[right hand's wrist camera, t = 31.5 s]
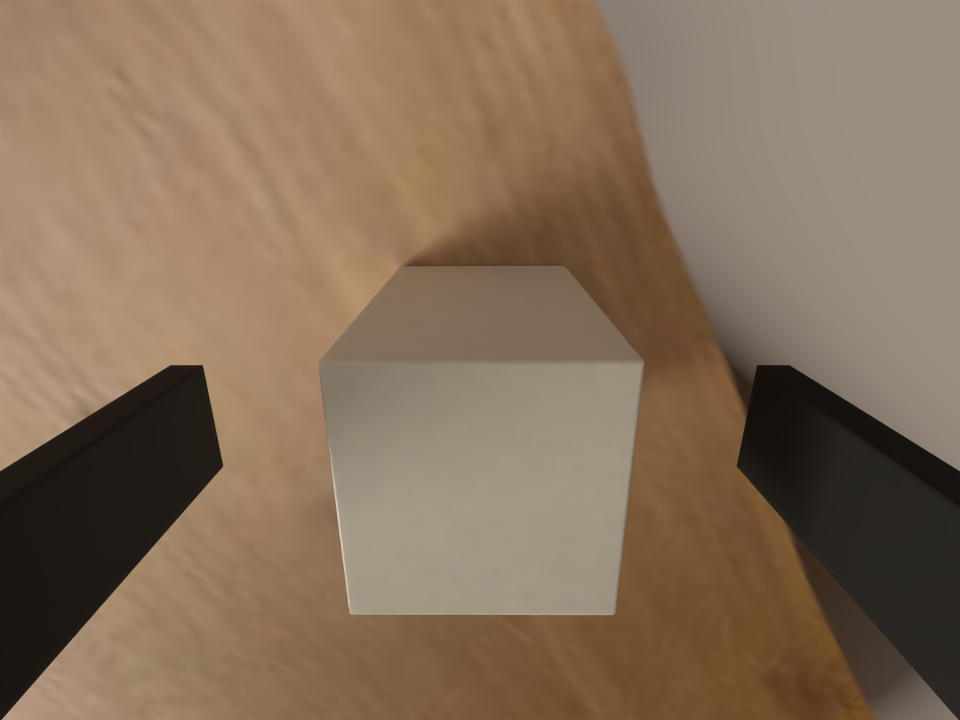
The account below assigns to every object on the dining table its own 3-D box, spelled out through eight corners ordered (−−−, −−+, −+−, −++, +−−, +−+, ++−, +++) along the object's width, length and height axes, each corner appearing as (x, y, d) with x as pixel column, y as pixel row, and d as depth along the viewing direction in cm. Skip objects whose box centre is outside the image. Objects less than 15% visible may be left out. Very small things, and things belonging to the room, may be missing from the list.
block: (565, 265, 16) (646, 360, 8) (557, 416, 18) (616, 616, 10) (399, 265, 16) (316, 361, 8) (408, 417, 18) (348, 616, 10)
